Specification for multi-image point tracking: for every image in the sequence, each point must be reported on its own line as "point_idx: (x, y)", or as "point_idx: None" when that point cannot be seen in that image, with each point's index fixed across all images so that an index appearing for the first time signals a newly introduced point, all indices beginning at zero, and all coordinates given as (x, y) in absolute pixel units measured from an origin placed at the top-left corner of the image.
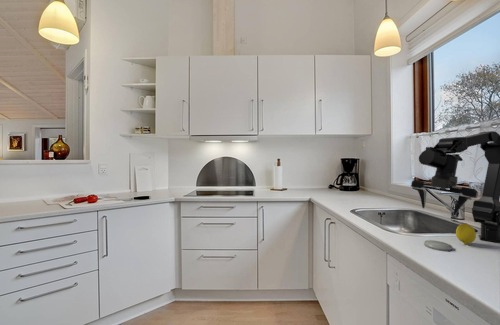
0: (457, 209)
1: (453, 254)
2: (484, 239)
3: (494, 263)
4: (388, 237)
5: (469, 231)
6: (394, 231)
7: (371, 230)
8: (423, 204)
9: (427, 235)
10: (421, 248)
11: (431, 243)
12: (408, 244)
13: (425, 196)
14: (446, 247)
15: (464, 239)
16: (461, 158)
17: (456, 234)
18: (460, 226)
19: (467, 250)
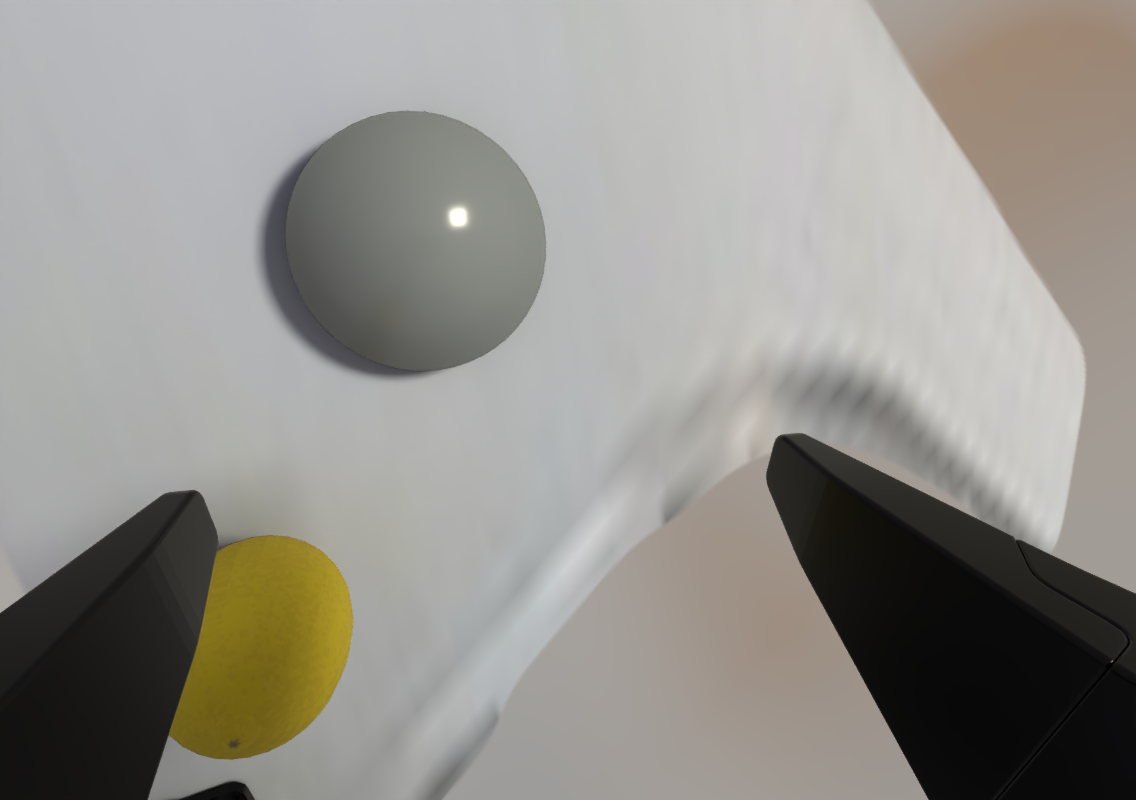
0: (39, 594)
1: (224, 91)
2: (209, 798)
3: None
4: (828, 163)
5: None
6: (812, 414)
7: (970, 268)
8: (840, 469)
9: (583, 539)
10: (517, 31)
11: (473, 214)
12: (645, 72)
13: (967, 766)
14: (321, 192)
15: (254, 539)
16: None
17: (338, 577)
18: (285, 654)
19: (190, 376)
